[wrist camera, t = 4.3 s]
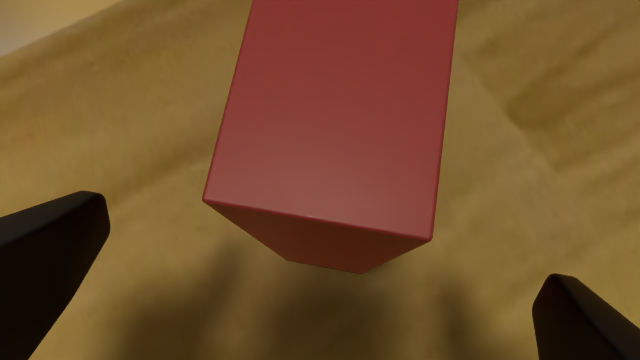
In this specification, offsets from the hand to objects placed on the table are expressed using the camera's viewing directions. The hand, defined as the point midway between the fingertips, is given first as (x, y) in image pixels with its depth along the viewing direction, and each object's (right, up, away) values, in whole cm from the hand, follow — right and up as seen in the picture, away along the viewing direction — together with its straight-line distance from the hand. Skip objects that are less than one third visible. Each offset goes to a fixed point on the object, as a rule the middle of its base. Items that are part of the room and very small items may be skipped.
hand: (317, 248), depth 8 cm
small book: (+1, +1, +11) cm, 11 cm away
